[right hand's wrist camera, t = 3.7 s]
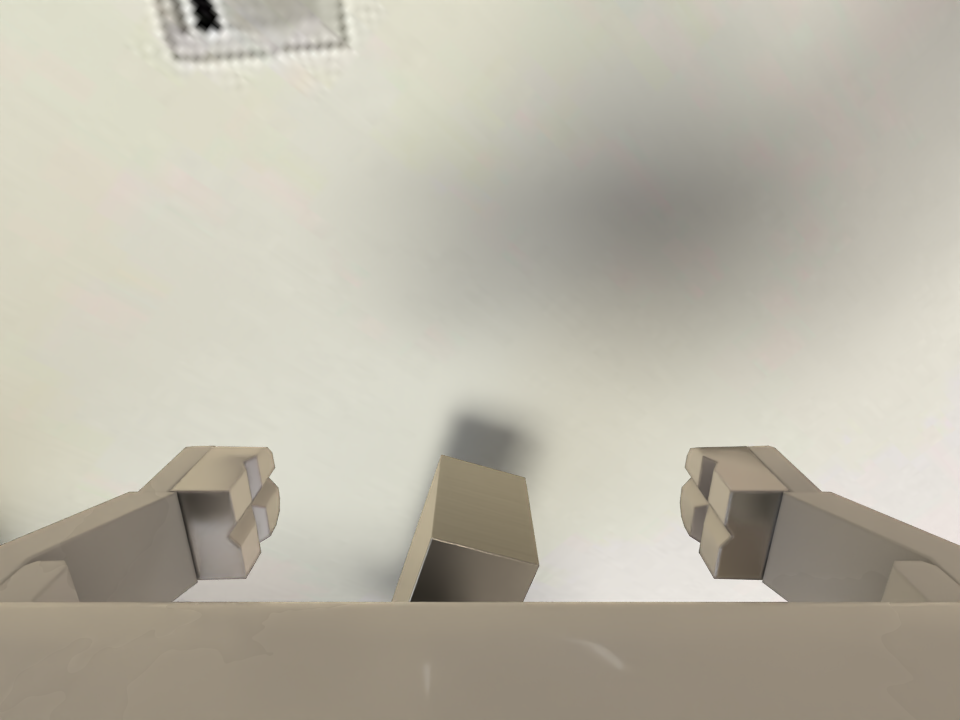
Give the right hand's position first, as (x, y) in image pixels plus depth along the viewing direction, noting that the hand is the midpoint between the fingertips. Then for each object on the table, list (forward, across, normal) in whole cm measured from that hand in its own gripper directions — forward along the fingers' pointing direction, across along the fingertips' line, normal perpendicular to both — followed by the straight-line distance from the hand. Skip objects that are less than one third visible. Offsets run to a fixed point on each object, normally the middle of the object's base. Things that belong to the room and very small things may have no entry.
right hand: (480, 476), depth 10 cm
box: (+22, -3, -24) cm, 33 cm away
